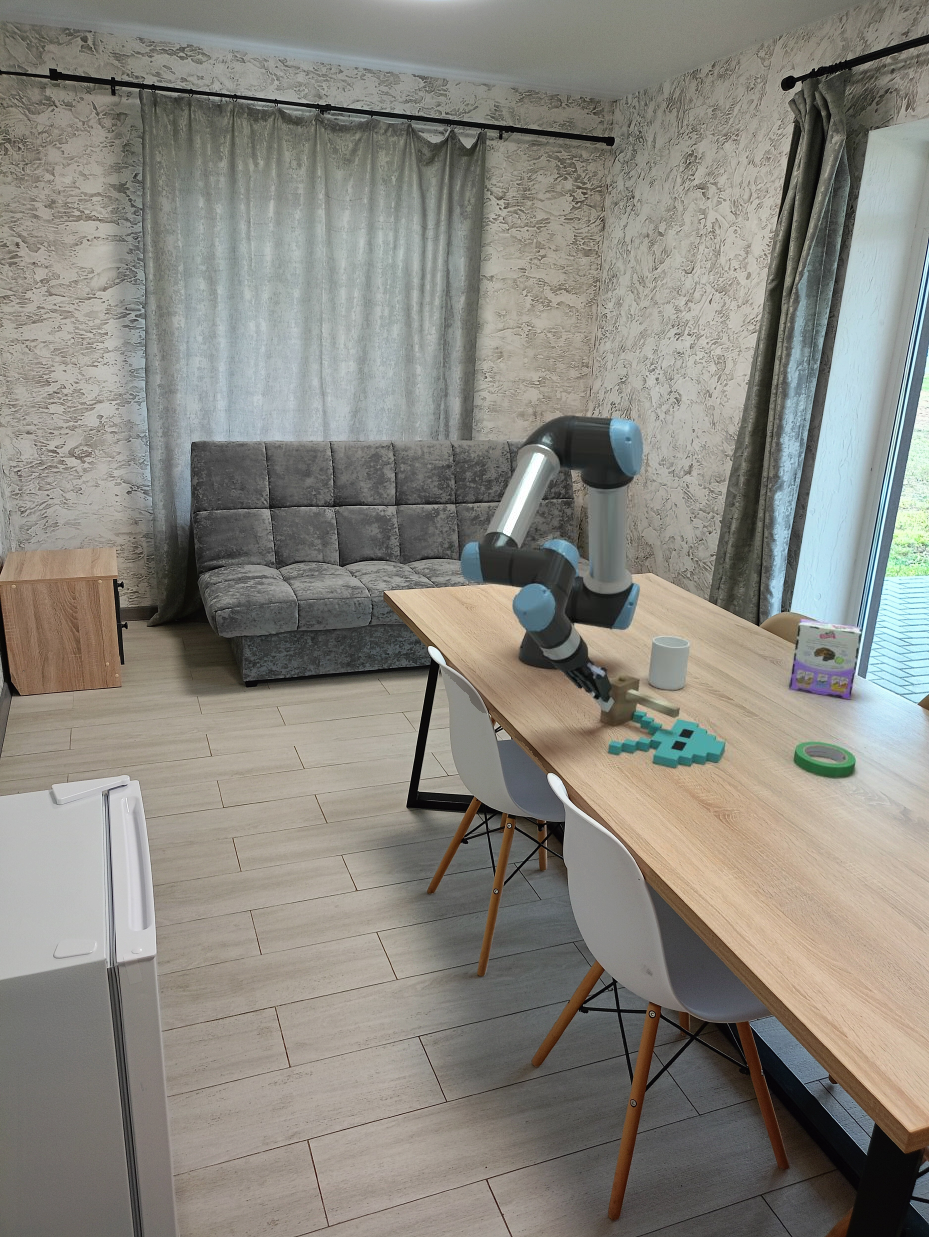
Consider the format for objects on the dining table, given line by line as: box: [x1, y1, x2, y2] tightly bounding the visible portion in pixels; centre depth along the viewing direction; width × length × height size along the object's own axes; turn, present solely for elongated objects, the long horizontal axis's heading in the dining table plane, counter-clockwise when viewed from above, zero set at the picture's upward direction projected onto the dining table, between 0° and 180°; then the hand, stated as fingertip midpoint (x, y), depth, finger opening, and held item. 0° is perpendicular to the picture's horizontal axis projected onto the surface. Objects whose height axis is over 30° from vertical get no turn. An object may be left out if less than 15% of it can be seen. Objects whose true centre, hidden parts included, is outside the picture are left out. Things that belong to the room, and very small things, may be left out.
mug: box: [648, 635, 691, 691], centre depth 215 cm, size 9×12×11 cm
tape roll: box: [793, 741, 857, 779], centre depth 176 cm, size 11×11×3 cm
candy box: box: [788, 618, 863, 700], centre depth 213 cm, size 14×6×16 cm, turn 65°
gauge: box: [599, 673, 681, 727], centre depth 188 cm, size 16×7×10 cm, turn 43°
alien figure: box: [607, 709, 726, 769], centre depth 182 cm, size 20×2×20 cm
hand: (608, 705), depth 188 cm, fingers closed
